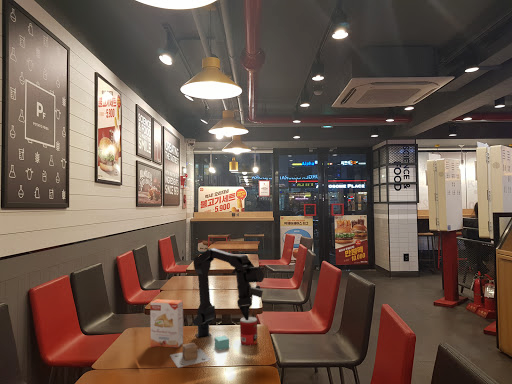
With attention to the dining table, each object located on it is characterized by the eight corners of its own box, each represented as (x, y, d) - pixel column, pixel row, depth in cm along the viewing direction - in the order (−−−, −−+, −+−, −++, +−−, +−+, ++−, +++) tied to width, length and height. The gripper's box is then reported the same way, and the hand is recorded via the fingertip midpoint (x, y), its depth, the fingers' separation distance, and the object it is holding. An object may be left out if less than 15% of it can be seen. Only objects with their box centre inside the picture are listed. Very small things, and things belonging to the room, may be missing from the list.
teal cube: (214, 348, 165) (214, 337, 165) (225, 346, 167) (224, 335, 167) (218, 352, 160) (218, 341, 160) (229, 350, 163) (229, 338, 163)
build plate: (169, 357, 156) (169, 354, 156) (200, 350, 162) (200, 347, 162) (177, 370, 143) (177, 366, 144) (211, 362, 150) (211, 359, 150)
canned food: (257, 345, 167) (256, 321, 167) (240, 345, 167) (239, 321, 168) (257, 339, 175) (257, 316, 175) (241, 339, 175) (240, 316, 175)
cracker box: (150, 347, 167) (149, 301, 168) (156, 342, 173) (156, 298, 174) (178, 350, 164) (177, 303, 165) (183, 345, 170) (183, 299, 171)
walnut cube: (182, 356, 154) (182, 344, 154) (193, 354, 156) (193, 342, 156) (185, 360, 150) (185, 348, 150) (197, 358, 152) (197, 346, 152)
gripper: (261, 283, 157) (265, 320, 155) (260, 278, 175) (264, 311, 173) (235, 286, 157) (239, 323, 155) (237, 281, 175) (241, 314, 173)
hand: (247, 317), depth 164 cm, fingers open, 9 cm apart
